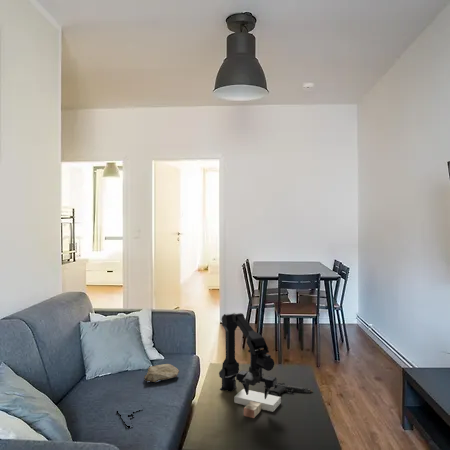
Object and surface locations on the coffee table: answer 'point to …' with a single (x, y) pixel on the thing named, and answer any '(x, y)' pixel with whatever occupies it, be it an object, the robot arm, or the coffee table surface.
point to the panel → (258, 399)
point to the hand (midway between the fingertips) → (256, 396)
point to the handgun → (287, 389)
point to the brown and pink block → (252, 409)
